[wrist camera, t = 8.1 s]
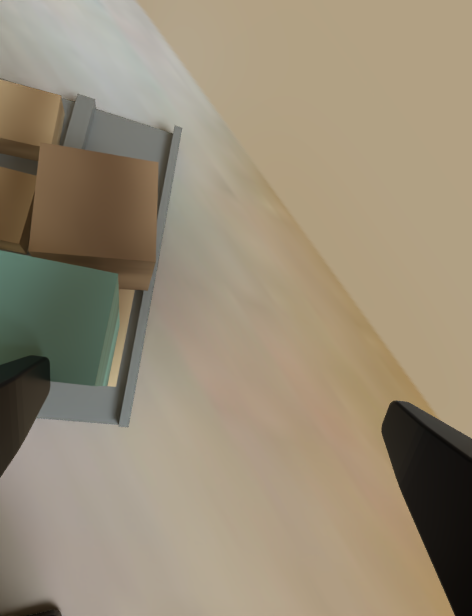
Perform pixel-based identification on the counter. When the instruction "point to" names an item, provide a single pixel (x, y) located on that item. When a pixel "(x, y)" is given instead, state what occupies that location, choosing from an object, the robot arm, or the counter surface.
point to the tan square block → (16, 209)
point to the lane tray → (118, 400)
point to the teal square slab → (63, 318)
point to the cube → (96, 212)
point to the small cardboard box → (28, 120)
